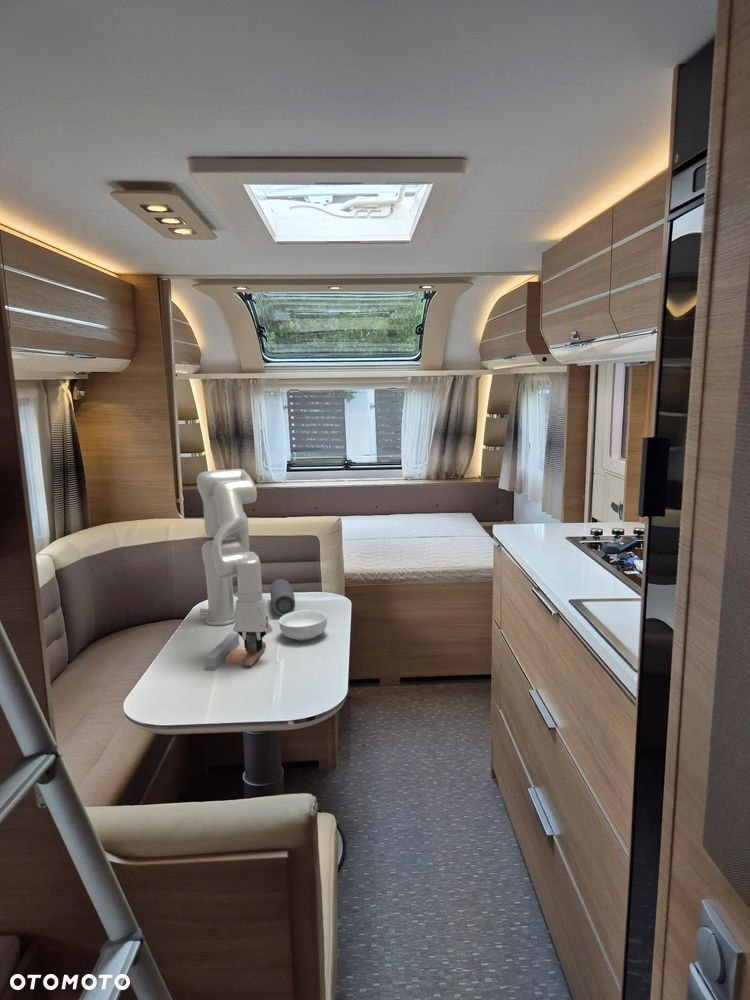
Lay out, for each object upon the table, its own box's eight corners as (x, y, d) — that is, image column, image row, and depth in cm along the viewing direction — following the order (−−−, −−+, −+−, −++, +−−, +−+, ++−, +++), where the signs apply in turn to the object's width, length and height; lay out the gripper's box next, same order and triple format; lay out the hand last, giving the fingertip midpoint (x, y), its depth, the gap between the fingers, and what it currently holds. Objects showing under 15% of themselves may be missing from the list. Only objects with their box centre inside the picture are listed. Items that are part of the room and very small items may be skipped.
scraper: (242, 665, 190) (240, 641, 188) (257, 647, 203) (255, 624, 202) (251, 665, 189) (249, 641, 188) (265, 647, 203) (264, 625, 201)
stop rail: (206, 669, 189) (205, 657, 189) (231, 644, 209) (230, 633, 208) (215, 669, 189) (214, 657, 188) (239, 644, 208) (238, 633, 208)
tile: (225, 663, 194) (224, 657, 194) (233, 654, 201) (233, 649, 201) (246, 664, 193) (245, 658, 193) (253, 655, 200) (253, 649, 199)
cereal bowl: (304, 624, 226) (303, 606, 224) (337, 634, 215) (336, 615, 214) (270, 638, 213) (268, 619, 212) (302, 650, 202) (301, 630, 201)
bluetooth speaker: (297, 617, 233) (296, 592, 231) (273, 620, 231) (271, 595, 229) (292, 599, 255) (291, 576, 253) (270, 601, 253) (268, 578, 251)
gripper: (221, 599, 190) (225, 654, 193) (271, 600, 188) (274, 656, 191) (230, 591, 198) (234, 644, 201) (278, 592, 195) (281, 646, 198)
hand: (253, 649), depth 196 cm, fingers closed on scraper, 2 cm apart
